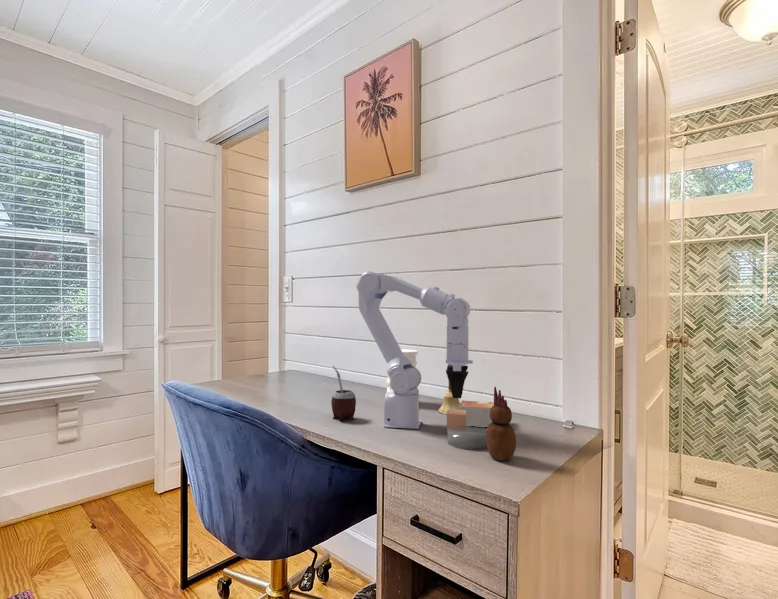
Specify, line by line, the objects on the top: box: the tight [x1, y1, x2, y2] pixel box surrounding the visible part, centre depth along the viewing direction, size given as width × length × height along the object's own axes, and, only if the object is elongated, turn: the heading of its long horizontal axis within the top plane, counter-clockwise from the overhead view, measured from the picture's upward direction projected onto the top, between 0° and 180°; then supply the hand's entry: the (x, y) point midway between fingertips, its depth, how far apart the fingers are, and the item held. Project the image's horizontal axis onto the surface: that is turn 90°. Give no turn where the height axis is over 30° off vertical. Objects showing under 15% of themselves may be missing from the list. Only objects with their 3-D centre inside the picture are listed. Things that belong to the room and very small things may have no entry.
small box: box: [460, 400, 494, 428], centre depth 120 cm, size 8×6×10 cm
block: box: [446, 410, 467, 434], centre depth 113 cm, size 5×5×5 cm
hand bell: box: [437, 364, 461, 415], centre depth 134 cm, size 8×8×16 cm
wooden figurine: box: [486, 386, 517, 462], centre depth 92 cm, size 7×6×15 cm
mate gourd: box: [330, 365, 357, 423], centre depth 125 cm, size 8×8×15 cm
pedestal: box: [447, 426, 488, 450], centre depth 103 cm, size 10×10×2 cm
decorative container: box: [386, 348, 419, 393], centre depth 146 cm, size 12×12×18 cm
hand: (457, 395), depth 113 cm, fingers open, 7 cm apart
